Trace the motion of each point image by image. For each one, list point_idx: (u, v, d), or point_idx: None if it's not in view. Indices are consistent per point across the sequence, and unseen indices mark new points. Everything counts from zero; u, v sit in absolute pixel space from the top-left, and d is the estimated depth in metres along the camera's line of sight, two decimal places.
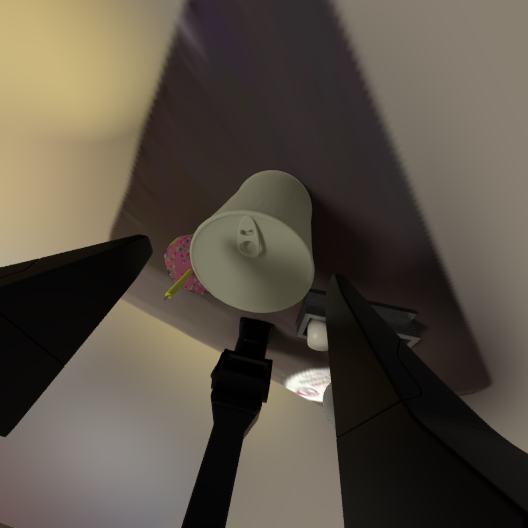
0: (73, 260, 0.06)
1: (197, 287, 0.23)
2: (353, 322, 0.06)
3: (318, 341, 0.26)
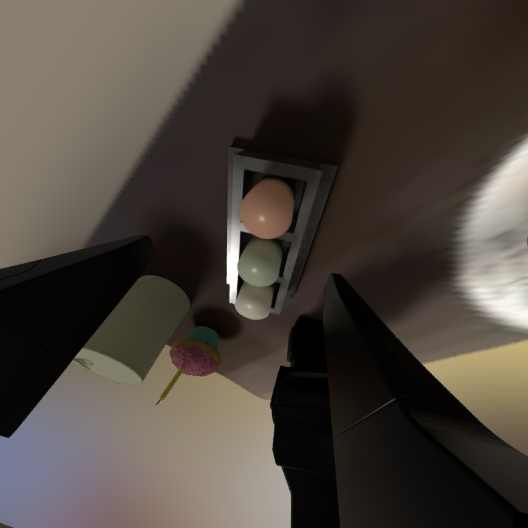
0: (76, 261, 0.06)
1: (196, 370, 0.29)
2: (349, 321, 0.06)
3: (246, 309, 0.19)
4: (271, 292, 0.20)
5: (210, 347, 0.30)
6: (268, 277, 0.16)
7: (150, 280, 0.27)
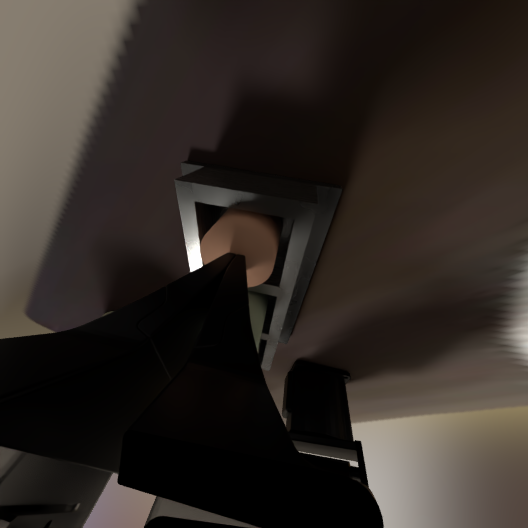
0: (197, 287, 0.06)
1: None
2: None
3: None
4: None
5: None
6: None
7: None
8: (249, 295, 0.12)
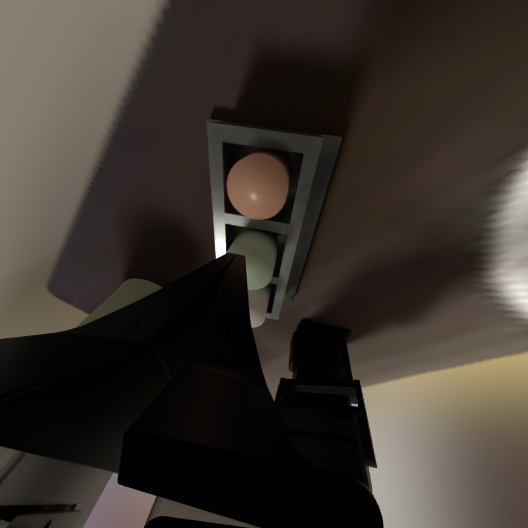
0: (197, 287, 0.06)
1: None
2: None
3: None
4: (266, 295, 0.17)
5: None
6: (260, 278, 0.13)
7: (134, 284, 0.25)
8: (263, 235, 0.14)
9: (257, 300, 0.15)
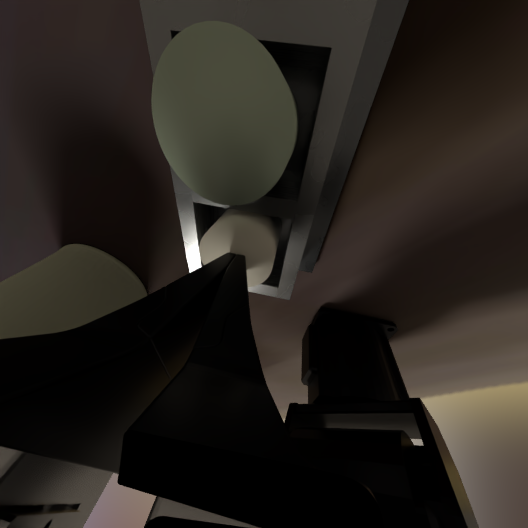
0: (197, 287, 0.06)
1: None
2: None
3: None
4: (275, 231, 0.10)
5: None
6: (258, 161, 0.05)
7: (70, 251, 0.16)
8: None
9: (259, 229, 0.08)
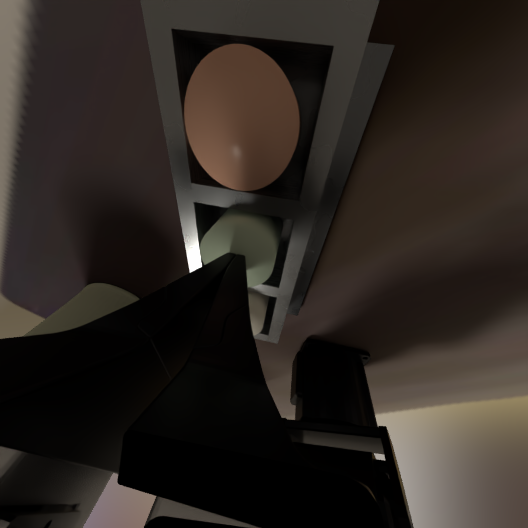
0: (197, 287, 0.06)
1: None
2: None
3: None
4: (265, 295, 0.13)
5: None
6: (256, 271, 0.09)
7: (96, 290, 0.19)
8: None
9: (253, 301, 0.11)
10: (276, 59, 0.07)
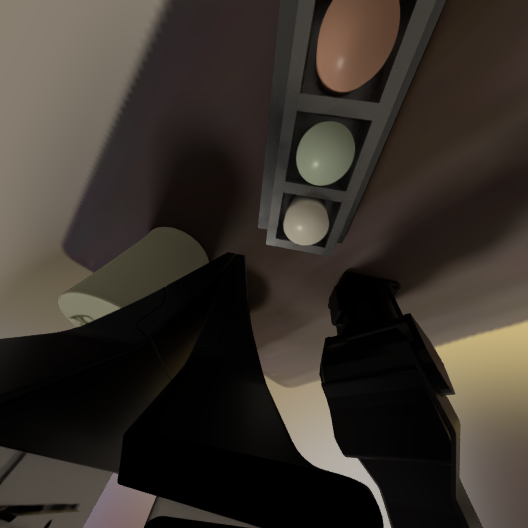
0: (197, 287, 0.06)
1: None
2: None
3: (298, 229, 0.15)
4: (326, 210, 0.16)
5: None
6: (337, 166, 0.12)
7: (163, 231, 0.23)
8: None
9: (322, 207, 0.15)
10: None
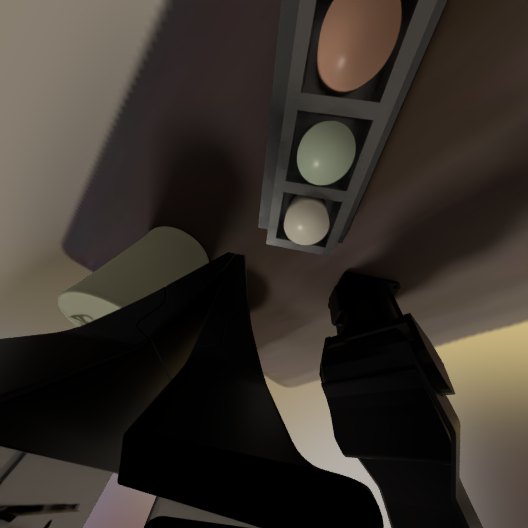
0: (197, 287, 0.06)
1: None
2: None
3: (298, 229, 0.15)
4: (326, 210, 0.16)
5: None
6: (338, 166, 0.12)
7: (163, 230, 0.23)
8: None
9: (322, 207, 0.15)
10: None
